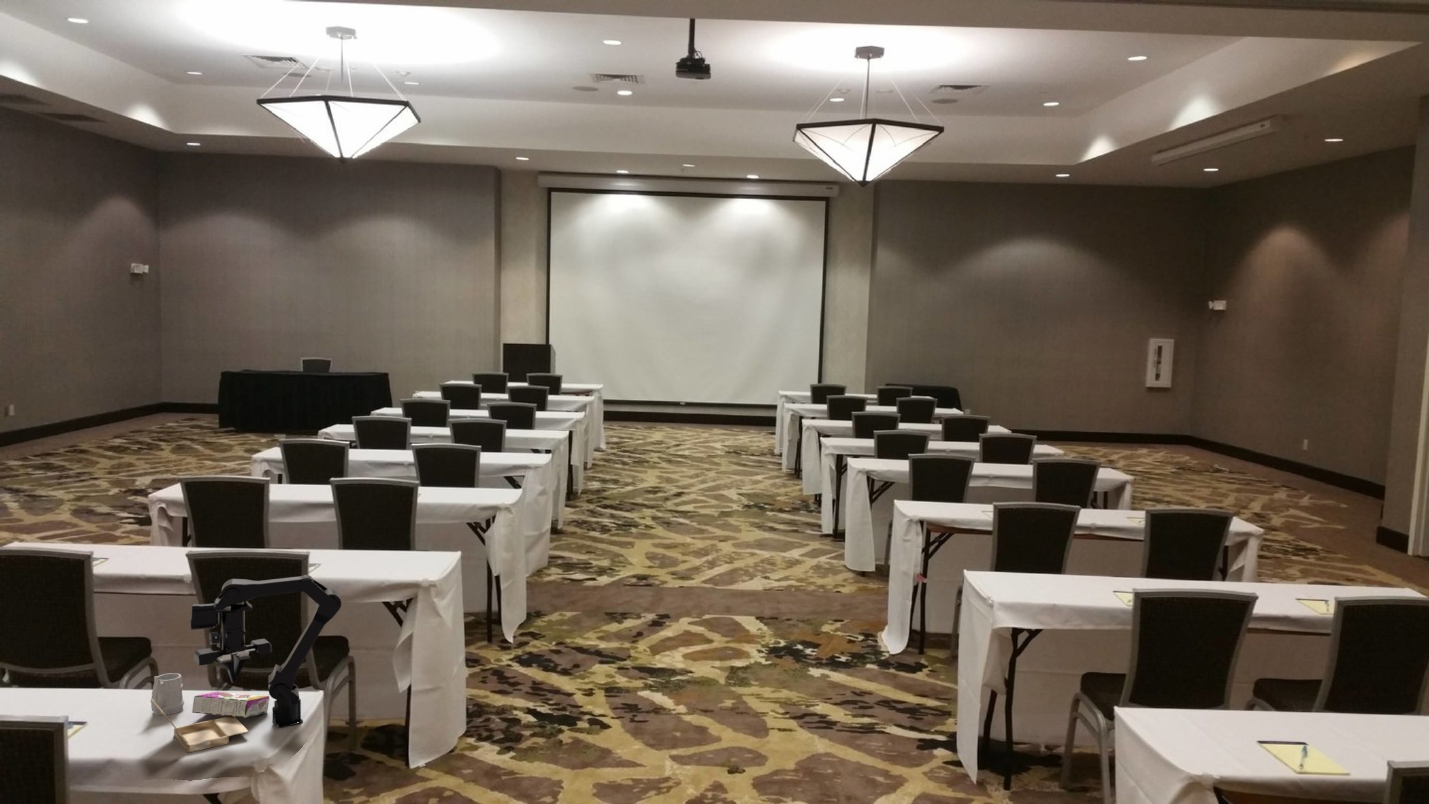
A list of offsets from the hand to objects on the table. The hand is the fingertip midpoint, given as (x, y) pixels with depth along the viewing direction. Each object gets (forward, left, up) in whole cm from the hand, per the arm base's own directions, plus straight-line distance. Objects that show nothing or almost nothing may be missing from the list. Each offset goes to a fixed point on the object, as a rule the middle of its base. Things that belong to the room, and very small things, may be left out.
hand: (233, 682), depth 282 cm
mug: (+12, -23, -13) cm, 29 cm away
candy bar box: (+4, -16, -9) cm, 19 cm away
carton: (+6, +3, -13) cm, 15 cm away
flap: (+14, +3, -11) cm, 18 cm away
